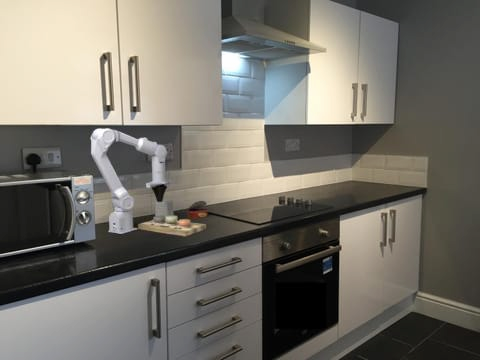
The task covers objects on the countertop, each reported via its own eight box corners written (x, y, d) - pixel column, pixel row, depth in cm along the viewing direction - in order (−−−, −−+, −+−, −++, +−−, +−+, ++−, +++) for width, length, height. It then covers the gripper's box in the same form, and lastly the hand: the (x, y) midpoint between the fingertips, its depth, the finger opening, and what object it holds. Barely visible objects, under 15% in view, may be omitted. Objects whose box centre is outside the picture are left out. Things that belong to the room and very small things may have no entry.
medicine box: (173, 217, 205) (173, 200, 204) (167, 219, 201) (167, 201, 200) (161, 216, 209) (160, 198, 208) (155, 217, 205) (154, 200, 204)
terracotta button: (185, 227, 175) (185, 222, 175) (176, 225, 178) (176, 220, 178) (192, 224, 180) (192, 219, 179) (183, 223, 182) (183, 218, 182)
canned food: (191, 227, 205) (181, 210, 203) (194, 220, 215) (184, 204, 213) (211, 217, 203) (201, 199, 201) (213, 210, 213) (203, 193, 211)
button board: (185, 236, 170) (185, 230, 170) (138, 228, 183) (137, 223, 183) (205, 229, 182) (205, 223, 182) (159, 222, 195) (159, 217, 195)
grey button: (159, 223, 182) (159, 218, 182) (151, 222, 185) (151, 217, 185) (167, 221, 187) (167, 216, 186) (158, 219, 189) (158, 215, 189)
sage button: (172, 223, 179) (172, 218, 178) (163, 221, 181) (163, 217, 181) (179, 220, 183) (179, 216, 183) (170, 219, 186) (170, 215, 185)
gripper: (154, 173, 180) (155, 205, 182) (176, 170, 192) (177, 200, 194) (142, 172, 183) (143, 203, 185) (164, 169, 196) (165, 198, 197)
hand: (159, 201), depth 190 cm, fingers closed
